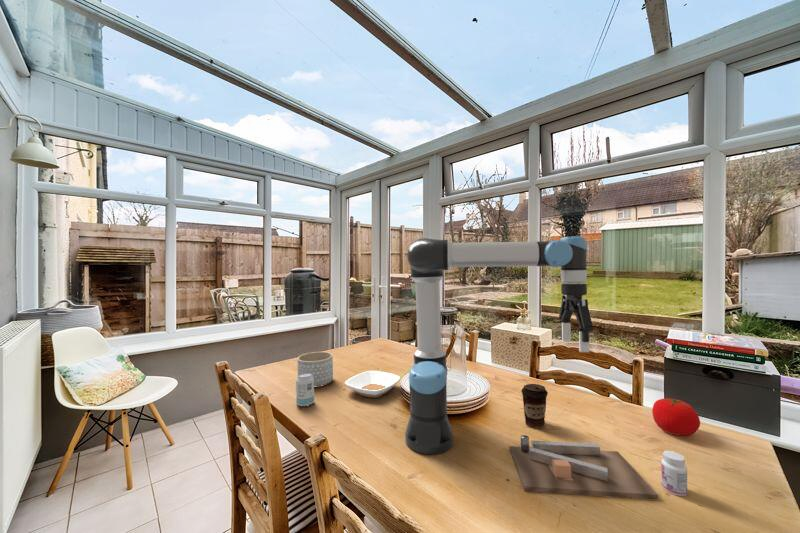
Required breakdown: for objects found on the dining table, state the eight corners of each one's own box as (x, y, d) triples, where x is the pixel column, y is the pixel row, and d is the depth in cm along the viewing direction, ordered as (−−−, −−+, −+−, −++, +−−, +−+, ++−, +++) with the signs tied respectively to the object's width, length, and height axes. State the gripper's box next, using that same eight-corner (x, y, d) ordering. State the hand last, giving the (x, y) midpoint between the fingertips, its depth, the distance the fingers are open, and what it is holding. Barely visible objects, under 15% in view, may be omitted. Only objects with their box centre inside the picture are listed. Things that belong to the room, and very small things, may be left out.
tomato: (661, 438, 98) (661, 405, 98) (646, 420, 109) (645, 390, 109) (707, 445, 94) (707, 410, 94) (686, 425, 106) (686, 394, 105)
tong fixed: (522, 452, 90) (521, 439, 90) (520, 448, 93) (519, 434, 93) (600, 456, 88) (600, 442, 88) (596, 452, 90) (596, 438, 90)
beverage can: (313, 399, 132) (313, 371, 132) (314, 406, 126) (314, 376, 126) (296, 402, 130) (295, 373, 130) (296, 409, 124) (295, 378, 124)
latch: (556, 477, 80) (555, 465, 80) (552, 470, 82) (552, 459, 82) (571, 478, 79) (571, 466, 79) (567, 471, 82) (567, 460, 82)
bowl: (406, 387, 143) (406, 376, 143) (378, 406, 125) (378, 393, 125) (369, 379, 155) (368, 368, 155) (338, 395, 136) (338, 383, 136)
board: (524, 491, 77) (524, 485, 77) (509, 450, 94) (509, 445, 94) (658, 499, 73) (658, 494, 73) (617, 455, 90) (617, 451, 90)
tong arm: (529, 459, 87) (529, 450, 87) (531, 455, 89) (531, 447, 89) (607, 481, 78) (607, 472, 78) (607, 477, 79) (607, 468, 79)
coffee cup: (551, 432, 103) (550, 392, 103) (524, 430, 105) (524, 391, 105) (544, 419, 112) (544, 382, 112) (520, 417, 113) (519, 381, 113)
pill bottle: (656, 483, 79) (655, 450, 78) (673, 482, 79) (673, 448, 79) (674, 497, 74) (674, 462, 74) (693, 496, 74) (692, 460, 74)
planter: (328, 389, 143) (328, 361, 143) (292, 389, 143) (292, 362, 143) (336, 376, 160) (335, 351, 160) (304, 376, 160) (303, 352, 160)
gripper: (605, 285, 92) (606, 357, 93) (569, 280, 117) (570, 337, 117) (578, 285, 93) (579, 356, 93) (548, 281, 118) (549, 337, 118)
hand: (574, 346), depth 105 cm, fingers open, 13 cm apart
